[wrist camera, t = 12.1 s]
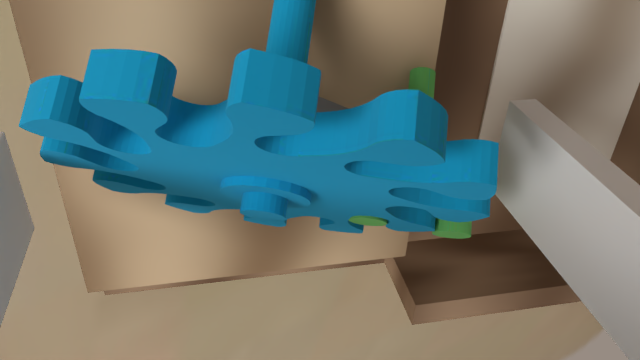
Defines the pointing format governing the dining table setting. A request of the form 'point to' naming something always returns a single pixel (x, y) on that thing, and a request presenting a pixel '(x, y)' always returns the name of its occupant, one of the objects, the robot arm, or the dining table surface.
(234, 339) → the dining table surface
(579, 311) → the dining table surface
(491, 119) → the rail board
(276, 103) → the gear
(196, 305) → the dining table surface
